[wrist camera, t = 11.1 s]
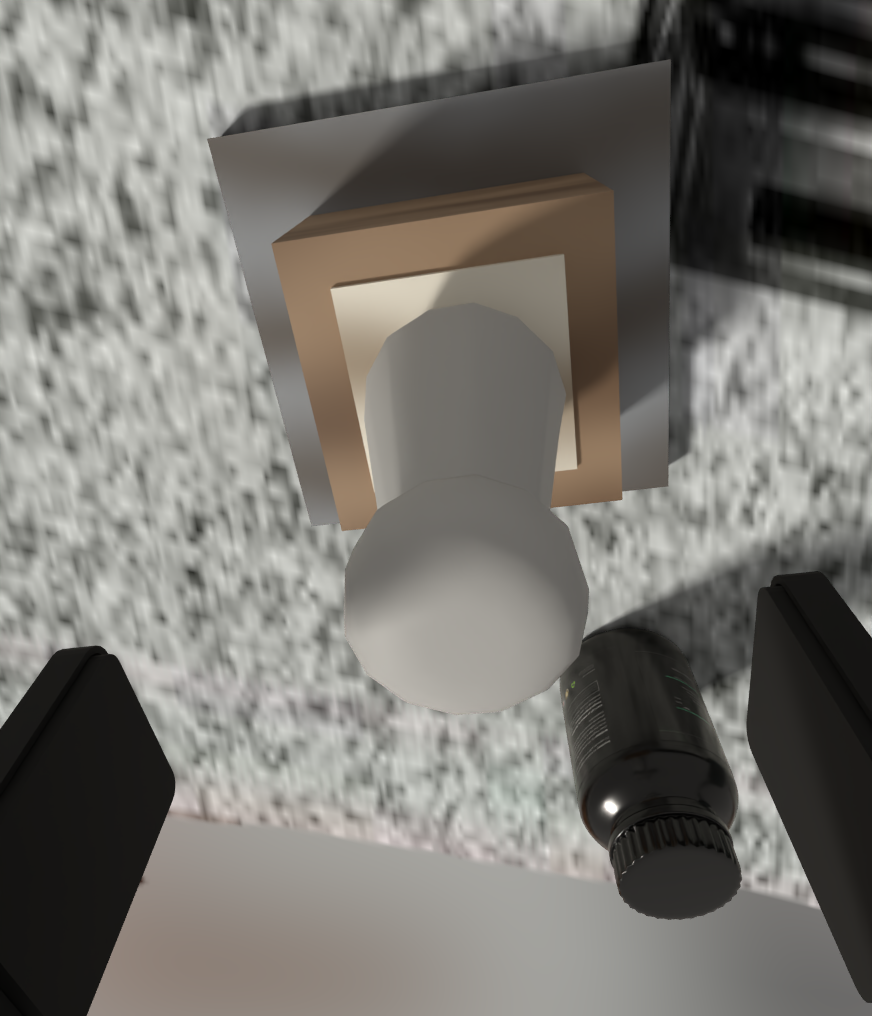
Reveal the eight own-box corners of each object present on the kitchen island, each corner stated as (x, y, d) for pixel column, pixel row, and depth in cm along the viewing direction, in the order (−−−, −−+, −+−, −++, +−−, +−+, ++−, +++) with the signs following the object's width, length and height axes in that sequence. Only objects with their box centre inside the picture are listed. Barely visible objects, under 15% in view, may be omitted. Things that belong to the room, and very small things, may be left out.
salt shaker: (353, 431, 24) (253, 723, 13) (400, 260, 21) (326, 440, 10) (519, 480, 25) (564, 800, 13) (585, 320, 22) (711, 552, 11)
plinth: (219, 137, 27) (137, 148, 20) (660, 61, 25) (730, 46, 18) (317, 510, 35) (281, 608, 28) (660, 470, 33) (709, 565, 26)
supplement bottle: (585, 734, 41) (626, 951, 31) (538, 650, 38) (565, 856, 28) (703, 697, 39) (790, 912, 29) (663, 605, 37) (742, 807, 26)
